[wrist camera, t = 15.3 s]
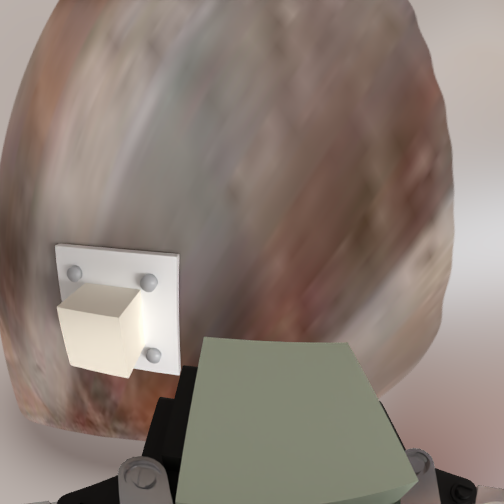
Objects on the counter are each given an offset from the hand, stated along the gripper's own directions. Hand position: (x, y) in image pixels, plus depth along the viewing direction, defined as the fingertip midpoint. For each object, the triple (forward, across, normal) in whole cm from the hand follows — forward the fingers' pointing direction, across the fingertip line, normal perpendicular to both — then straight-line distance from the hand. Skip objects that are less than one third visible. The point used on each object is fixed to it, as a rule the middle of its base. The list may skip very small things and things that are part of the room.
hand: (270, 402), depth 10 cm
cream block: (+18, +14, +8) cm, 24 cm away
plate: (+19, +14, +8) cm, 24 cm away
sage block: (+1, 0, 0) cm, 1 cm away
